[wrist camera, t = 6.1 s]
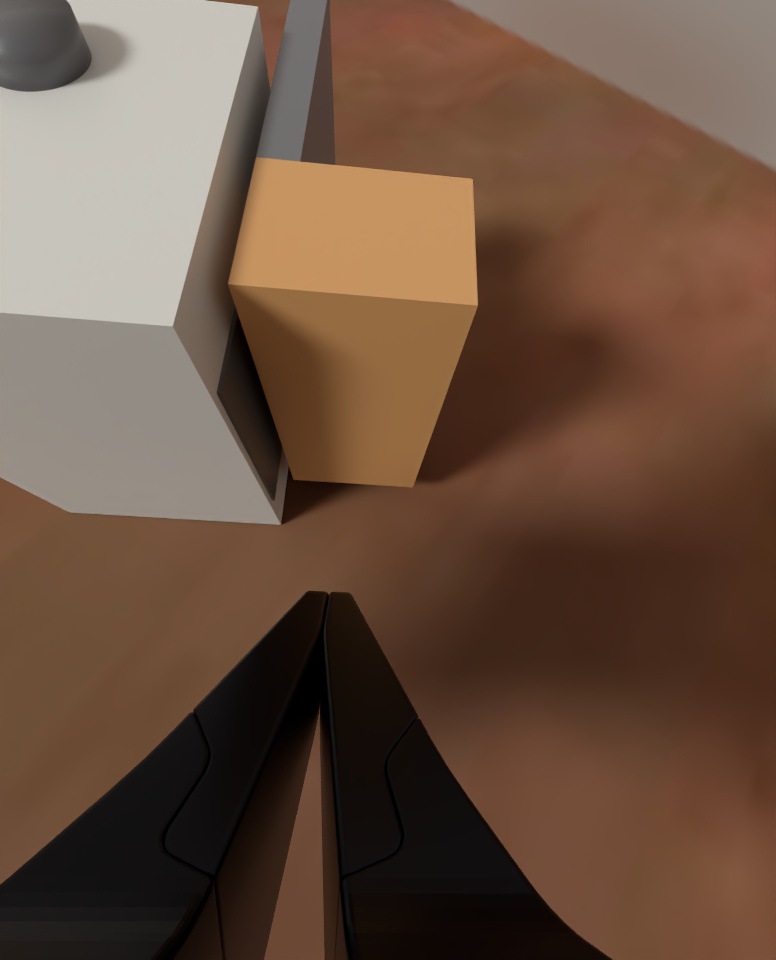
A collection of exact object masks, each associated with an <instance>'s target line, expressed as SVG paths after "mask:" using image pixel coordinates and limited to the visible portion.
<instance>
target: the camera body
mask: <svg viewBox="0 0 776 960" xmlns="http://www.w3.org/2000/svg"><path fill="white" fill-rule="evenodd" d="M269 96H270V85H269V78H268V72H267V65H266V58H265V51H264V44H263V37H262V30H261V24H260V17H259V10H258V7H256V6H248V5H239V4H231V3H222V2H214V1H205V0H0V477H1V478H3V479H5V480H7V481H9V482H11V483H13V484H15V485H17V486H19V487H21V488H23V489H24V490H26V491H28V492H30V493H32V494H34V495H36V496H38V497H40V498H42V499H44V500H46V501H48V502H50V503H52V504H54V505H56V506H58V507H60V508H62V509H64V510H66V511H68V512H71V513H88V514H106V515H123V516H140V517H157V518H174V519H192V520H209V521H226V522H243V523H260V524H278V525H281V520H282V513H283V505H284V498H285V490H286V482H287V475H288V467H289V465H288V462H287V459H286V456H285V453H284V450H283V447H282V444H281V441H280V438H279V435H278V432H277V429H276V426H275V423H274V420H273V417H272V414H271V411H270V408H269V405H268V402H267V399H266V396H265V393H264V390H263V387H262V384H261V381H260V378H259V375H258V372H257V369H256V366H255V363H254V360H253V357H252V354H251V351H250V348H249V345H248V342H247V339H246V336H245V333H244V330H243V327H242V324H241V321H240V318H239V315H238V312H237V309H236V307H235V304H234V301H233V298H232V295H231V292H230V289H229V286H228V282H229V277H230V273H231V268H232V264H233V259H234V254H235V250H236V245H237V241H238V236H239V232H240V227H241V223H242V218H243V214H244V209H245V205H246V200H247V196H248V191H249V187H250V182H251V177H252V173H253V168H254V164H255V159H256V155H257V150H258V146H259V141H260V137H261V132H262V128H263V123H264V119H265V114H266V110H267V105H268V100H269Z"/></svg>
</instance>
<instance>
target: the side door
mask: <svg viewBox="0 0 776 960" xmlns="http://www.w3.org/2000/svg"><path fill="white" fill-rule="evenodd" d="M228 286H229V289H230V292H231V295H232V298H233V301H234V304H235V307H236V309H237V312H238V315H239V318H240V321H241V324H242V327H243V330H244V333H245V336H246V339H247V342H248V345H249V348H250V351H251V354H252V357H253V360H254V363H255V366H256V369H257V372H258V375H259V378H260V381H261V384H262V387H263V390H264V393H265V396H266V399H267V402H268V405H269V408H270V411H271V414H272V417H273V420H274V423H275V426H276V429H277V432H278V435H279V438H280V441H281V444H282V447H283V450H284V453H285V456H286V459H287V462H288V465H289V468H290V471H291V474H292V477H293V480H305V481H321V482H337V483H353V484H368V485H384V486H400V487H413V486H414V483H415V480H416V477H417V475H418V472H419V469H420V466H421V463H422V461H423V458H424V455H425V452H426V449H427V447H428V444H429V441H430V438H431V435H432V433H433V430H434V427H435V424H436V421H437V419H438V416H439V413H440V410H441V407H442V405H443V402H444V399H445V396H446V393H447V391H448V388H449V385H450V382H451V380H452V377H453V374H454V371H455V368H456V366H457V363H458V360H459V357H460V354H461V352H462V349H463V346H464V343H465V340H466V338H467V335H468V332H469V329H470V326H471V324H472V321H473V318H474V315H475V312H476V310H477V307H478V294H477V270H476V246H475V223H474V199H473V179H468V178H458V177H448V176H438V175H428V174H418V173H408V172H398V171H389V170H379V169H369V168H359V167H349V166H339V165H335V142H334V114H333V86H332V57H331V29H330V1H329V0H291V1H290V5H289V10H288V14H287V19H286V23H285V28H284V32H283V37H282V42H281V46H280V51H279V55H278V60H277V64H276V69H275V73H274V78H273V82H272V87H271V91H270V96H269V100H268V105H267V110H266V114H265V119H264V123H263V128H262V132H261V137H260V141H259V146H258V150H257V155H256V159H255V164H254V168H253V173H252V177H251V182H250V187H249V191H248V196H247V200H246V205H245V209H244V214H243V218H242V223H241V227H240V232H239V236H238V241H237V245H236V250H235V254H234V259H233V264H232V268H231V273H230V277H229V282H228Z"/></svg>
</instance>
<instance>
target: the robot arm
mask: <svg viewBox="0 0 776 960" xmlns="http://www.w3.org/2000/svg"><path fill="white" fill-rule="evenodd" d="M319 709H320V756H321V804H322V852H323V900H324V948H325V960H612V959H611V958H610V957H608V956H607V955H605V954H604V953H603V952H601V951H600V950H598V949H597V948H596V947H594V946H593V945H591V944H590V943H589V942H587V941H586V940H585V939H583V938H582V937H581V936H579V935H578V934H577V933H576V932H575V931H573V930H572V929H571V928H570V927H569V926H568V925H567V924H566V923H565V922H564V921H563V920H562V919H561V918H560V917H559V916H558V915H557V914H556V913H555V912H554V911H553V910H552V909H551V908H550V907H549V906H548V904H547V903H546V902H545V901H544V900H543V899H542V897H541V896H540V895H539V894H538V892H537V891H536V890H535V888H534V887H533V886H532V884H531V883H530V882H529V880H528V879H527V878H526V876H525V875H524V874H523V872H522V871H521V869H520V868H519V867H518V865H517V864H516V862H515V861H514V860H513V858H512V857H511V856H510V854H509V853H508V851H507V850H506V849H505V847H504V846H503V844H502V843H501V842H500V840H499V839H498V837H497V836H496V835H495V833H494V832H493V831H492V829H491V828H490V826H489V825H488V824H487V822H486V821H485V819H484V818H483V817H482V815H481V814H480V812H479V811H478V810H477V808H476V807H475V806H474V804H473V803H472V801H471V800H470V799H469V797H468V796H467V794H466V793H465V791H464V790H463V788H462V787H461V785H460V784H459V783H458V781H457V780H456V778H455V777H454V775H453V774H452V772H451V771H450V769H449V768H448V766H447V765H446V763H445V761H444V760H443V758H442V756H441V755H440V753H439V751H438V750H437V748H436V746H435V745H434V743H433V741H432V740H431V738H430V736H429V734H428V732H427V731H426V729H425V727H424V725H423V723H422V722H421V720H420V719H418V715H417V713H416V711H415V709H414V707H413V706H412V704H411V702H410V700H409V698H408V697H407V695H406V693H405V691H404V689H403V687H402V686H401V684H400V682H399V680H398V678H397V676H396V675H395V673H394V671H393V669H392V667H391V666H390V664H389V662H388V660H387V658H386V656H385V655H384V653H383V651H382V649H381V647H380V646H379V644H378V642H377V640H376V638H375V636H374V635H373V633H372V631H371V629H370V627H369V626H368V624H367V622H366V620H365V618H364V616H363V615H362V613H361V611H360V609H359V607H358V606H357V604H356V602H355V600H354V598H353V596H352V595H351V594H350V593H346V592H331V593H330V594H329V595H328V593H327V592H323V591H308V592H306V593H305V594H304V595H303V596H302V597H301V598H300V599H299V600H298V601H297V602H296V603H295V604H294V605H293V606H292V607H291V608H290V610H289V611H288V612H287V613H286V614H285V615H284V616H283V617H282V618H281V619H280V620H279V621H278V622H277V623H276V624H275V625H274V626H273V627H272V628H271V629H270V630H269V631H268V632H267V633H266V635H265V636H264V637H263V638H262V639H261V640H260V641H259V642H258V643H257V644H256V645H255V646H254V647H253V648H252V649H251V650H250V651H249V652H248V653H247V654H246V655H245V656H244V657H243V658H242V660H241V661H240V662H239V663H238V664H237V665H236V666H235V667H234V668H233V669H232V670H231V671H230V672H229V673H228V674H227V675H226V676H225V677H224V678H223V679H222V680H221V681H220V682H219V683H218V685H217V686H216V687H215V688H214V689H213V690H212V691H211V692H210V693H209V694H208V695H207V696H206V697H205V698H204V699H203V700H202V701H201V702H200V703H199V704H198V705H197V706H196V707H195V708H194V710H193V713H189V714H188V715H187V716H186V718H185V719H184V720H183V721H182V722H181V723H180V724H179V725H178V726H177V727H176V728H175V729H174V730H173V731H172V732H171V733H170V734H169V735H168V736H167V737H166V738H165V739H164V740H163V741H162V742H161V743H160V744H159V745H158V746H157V747H156V748H155V749H154V750H153V751H152V752H151V753H150V754H149V755H148V756H147V757H146V758H145V759H144V760H142V761H141V762H140V763H139V764H138V765H137V766H136V767H135V768H134V769H133V770H131V771H130V772H129V773H128V774H127V775H126V776H125V777H124V778H123V779H121V780H120V781H119V782H118V783H117V784H116V785H115V786H114V787H113V788H112V789H110V790H109V791H108V792H107V793H106V794H105V795H104V796H102V797H101V798H100V799H99V800H98V801H97V802H95V803H94V804H93V805H92V806H91V807H90V808H89V809H87V810H86V811H85V812H84V813H83V814H82V815H80V816H79V817H78V818H77V819H76V820H75V821H74V822H72V823H71V824H70V825H69V826H68V827H67V828H66V829H64V830H63V831H62V832H61V833H60V834H59V835H57V836H56V837H55V838H54V839H53V840H52V841H51V842H49V843H48V844H47V845H46V846H45V847H44V848H42V849H41V850H40V851H39V852H38V853H37V854H36V855H34V856H33V857H32V858H31V859H30V860H29V861H27V862H26V863H25V864H24V865H23V866H22V867H21V868H19V869H18V870H17V871H16V872H15V873H14V874H12V875H11V876H10V877H9V878H8V879H6V880H5V881H4V882H3V883H2V884H0V960H264V957H265V952H266V948H267V943H268V939H269V934H270V930H271V926H272V921H273V917H274V912H275V908H276V903H277V899H278V894H279V890H280V886H281V881H282V877H283V872H284V868H285V863H286V859H287V854H288V850H289V846H290V841H291V837H292V832H293V828H294V823H295V819H296V814H297V810H298V806H299V801H300V797H301V792H302V788H303V783H304V779H305V775H306V770H307V766H308V761H309V757H310V752H311V748H312V743H313V739H314V735H315V730H316V726H317V720H318V715H319Z"/></svg>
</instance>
